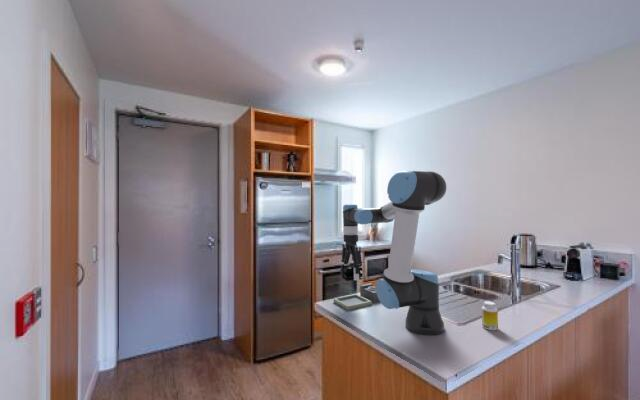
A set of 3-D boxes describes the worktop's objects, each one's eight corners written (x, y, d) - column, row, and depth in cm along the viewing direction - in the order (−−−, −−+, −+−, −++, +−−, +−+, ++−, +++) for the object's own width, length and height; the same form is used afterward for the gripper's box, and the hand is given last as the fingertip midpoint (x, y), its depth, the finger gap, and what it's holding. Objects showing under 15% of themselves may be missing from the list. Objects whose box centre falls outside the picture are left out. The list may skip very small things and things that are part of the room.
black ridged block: (357, 275, 154) (357, 263, 153) (363, 279, 147) (363, 266, 147) (340, 277, 151) (340, 264, 151) (345, 281, 144) (344, 267, 144)
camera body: (384, 300, 153) (384, 288, 153) (373, 302, 150) (373, 290, 150) (370, 294, 163) (370, 283, 163) (360, 296, 160) (360, 284, 160)
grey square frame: (371, 305, 146) (371, 301, 146) (348, 310, 139) (347, 306, 139) (356, 297, 158) (356, 293, 158) (333, 302, 151) (333, 298, 151)
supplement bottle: (500, 331, 114) (500, 305, 114) (486, 330, 115) (485, 305, 115) (493, 325, 120) (493, 300, 120) (479, 324, 120) (479, 300, 120)
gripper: (368, 235, 141) (369, 281, 141) (345, 231, 160) (346, 272, 160) (356, 236, 138) (357, 284, 138) (334, 232, 156) (335, 274, 156)
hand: (351, 277), depth 149 cm, fingers closed on black ridged block, 8 cm apart
